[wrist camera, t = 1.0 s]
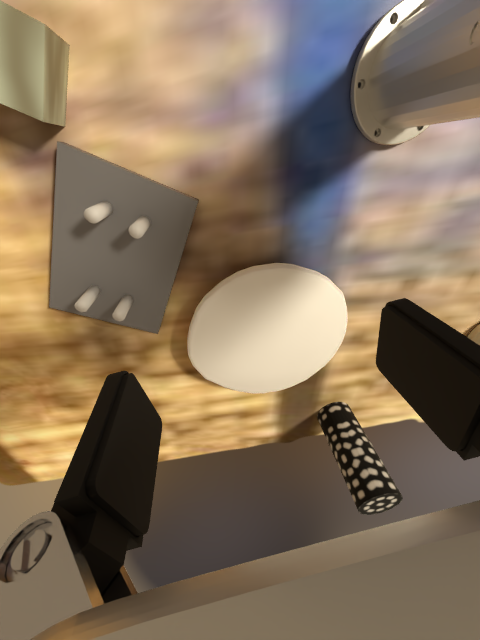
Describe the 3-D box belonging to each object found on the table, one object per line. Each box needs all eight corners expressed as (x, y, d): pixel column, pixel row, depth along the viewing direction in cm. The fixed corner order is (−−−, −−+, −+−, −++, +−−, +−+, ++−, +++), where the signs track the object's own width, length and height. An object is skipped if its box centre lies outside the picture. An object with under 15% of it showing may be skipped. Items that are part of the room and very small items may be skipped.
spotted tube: (310, 419, 64) (349, 512, 47) (331, 398, 60) (380, 491, 43) (335, 426, 66) (379, 515, 50) (356, 406, 63) (411, 495, 46)
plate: (378, 276, 38) (324, 395, 52) (353, 261, 44) (310, 373, 58) (191, 268, 31) (186, 410, 45) (188, 251, 36) (185, 383, 50)
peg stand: (63, 142, 29) (31, 138, 23) (198, 199, 34) (197, 207, 28) (54, 302, 39) (30, 325, 33) (159, 328, 44) (153, 353, 38)
